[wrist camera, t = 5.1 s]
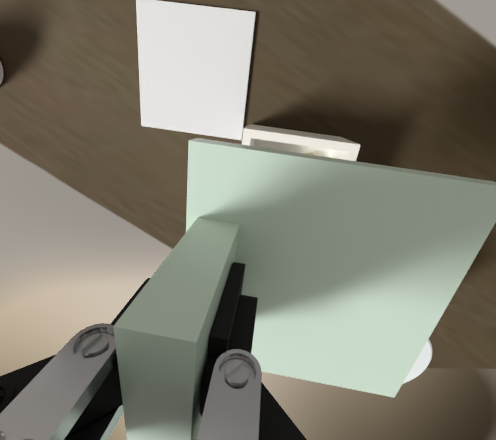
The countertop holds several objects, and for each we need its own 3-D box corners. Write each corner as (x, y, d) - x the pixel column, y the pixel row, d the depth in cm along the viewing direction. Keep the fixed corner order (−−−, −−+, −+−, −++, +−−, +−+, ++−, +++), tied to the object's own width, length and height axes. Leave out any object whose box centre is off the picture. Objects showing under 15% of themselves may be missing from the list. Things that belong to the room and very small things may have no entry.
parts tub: (341, 136, 31) (360, 144, 23) (319, 219, 35) (330, 247, 28) (251, 124, 31) (243, 128, 24) (241, 206, 36) (231, 231, 28)
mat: (255, 13, 27) (255, 11, 27) (241, 139, 32) (241, 140, 32) (137, -1, 28) (135, -3, 27) (142, 125, 33) (141, 125, 32)
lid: (475, 175, 11) (888, 312, 3) (381, 363, 16) (470, 588, 8) (203, 135, 11) (66, 179, 4) (193, 328, 16) (122, 506, 9)
